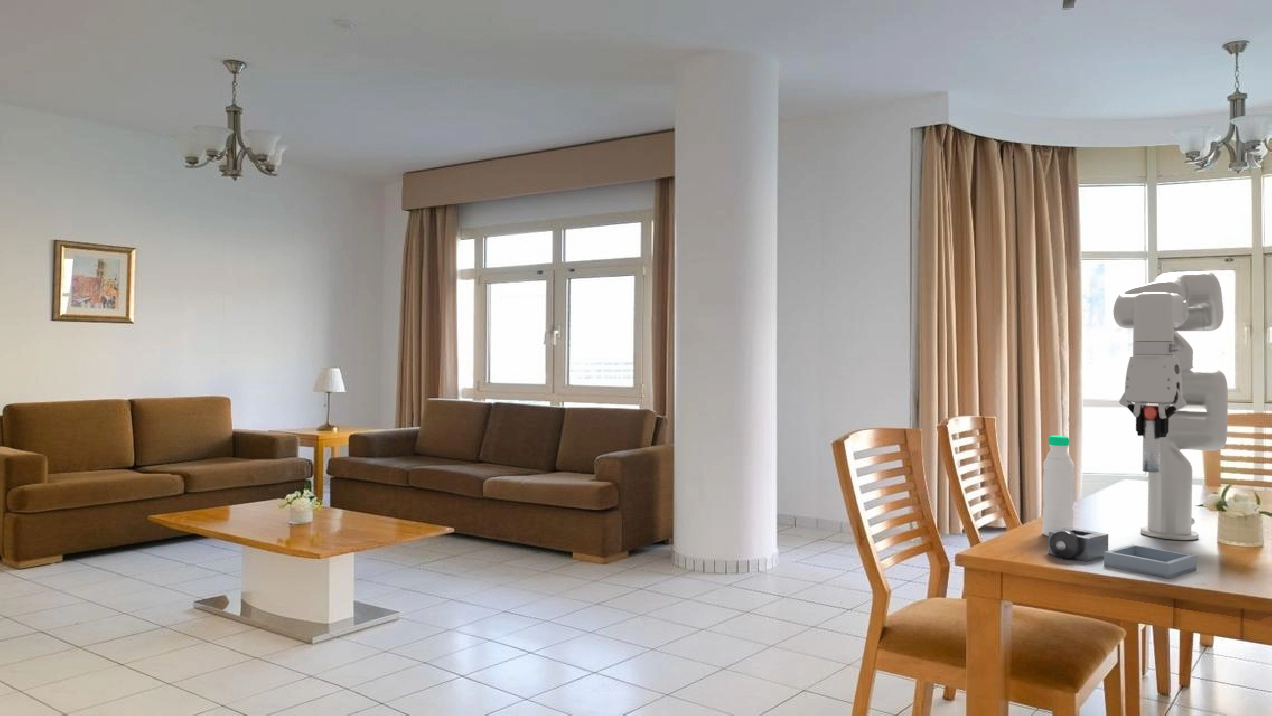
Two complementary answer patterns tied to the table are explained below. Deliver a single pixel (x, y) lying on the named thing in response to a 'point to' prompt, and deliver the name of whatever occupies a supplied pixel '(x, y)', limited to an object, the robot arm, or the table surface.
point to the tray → (1150, 561)
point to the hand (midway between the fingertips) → (1151, 435)
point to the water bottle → (1058, 486)
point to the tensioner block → (1077, 544)
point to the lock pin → (1151, 440)
